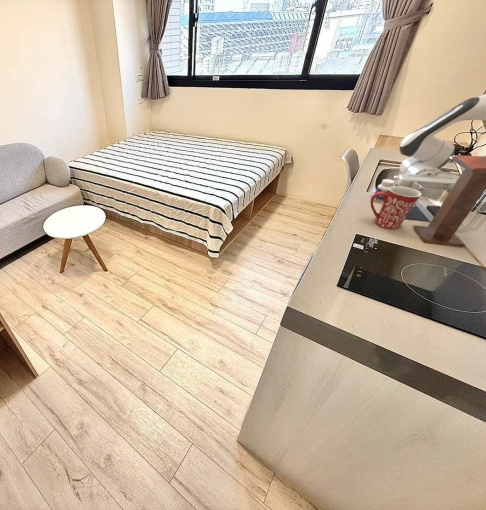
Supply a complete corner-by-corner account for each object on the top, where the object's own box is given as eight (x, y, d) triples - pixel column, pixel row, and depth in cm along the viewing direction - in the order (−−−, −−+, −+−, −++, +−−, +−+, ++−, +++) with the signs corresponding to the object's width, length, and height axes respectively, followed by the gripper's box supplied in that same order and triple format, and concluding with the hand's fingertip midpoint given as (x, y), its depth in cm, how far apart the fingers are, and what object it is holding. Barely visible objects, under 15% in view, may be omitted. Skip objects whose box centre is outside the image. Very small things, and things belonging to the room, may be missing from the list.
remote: (425, 203, 115) (429, 195, 113) (444, 223, 101) (449, 216, 99) (413, 202, 116) (417, 194, 114) (430, 222, 103) (435, 214, 101)
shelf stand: (446, 230, 98) (496, 156, 83) (463, 249, 90) (523, 170, 74) (411, 226, 102) (454, 155, 86) (424, 244, 93) (474, 167, 77)
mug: (401, 222, 105) (420, 188, 97) (403, 233, 99) (423, 198, 91) (362, 214, 111) (376, 182, 103) (361, 224, 105) (376, 191, 97)
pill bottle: (375, 203, 118) (384, 183, 113) (369, 197, 122) (378, 178, 117) (389, 203, 117) (399, 183, 112) (382, 198, 121) (392, 178, 116)
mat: (429, 208, 112) (429, 207, 111) (442, 222, 103) (443, 222, 102) (393, 205, 115) (393, 204, 115) (403, 219, 106) (403, 218, 106)
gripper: (396, 168, 117) (407, 180, 107) (458, 171, 111) (476, 184, 101) (389, 182, 121) (399, 195, 111) (448, 186, 115) (465, 200, 104)
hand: (436, 190), depth 106 cm, fingers open, 8 cm apart
